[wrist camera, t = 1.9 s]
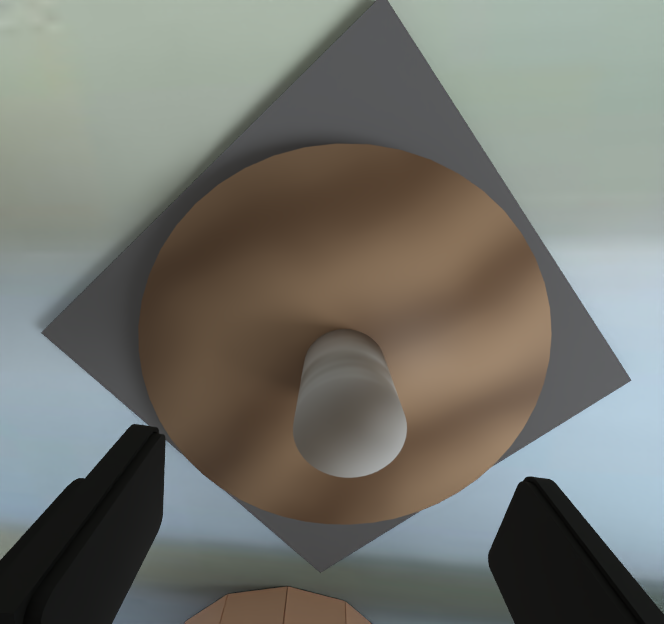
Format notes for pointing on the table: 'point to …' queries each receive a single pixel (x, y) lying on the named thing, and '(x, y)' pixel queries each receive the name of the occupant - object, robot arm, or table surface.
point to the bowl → (278, 609)
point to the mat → (342, 128)
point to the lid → (344, 334)
